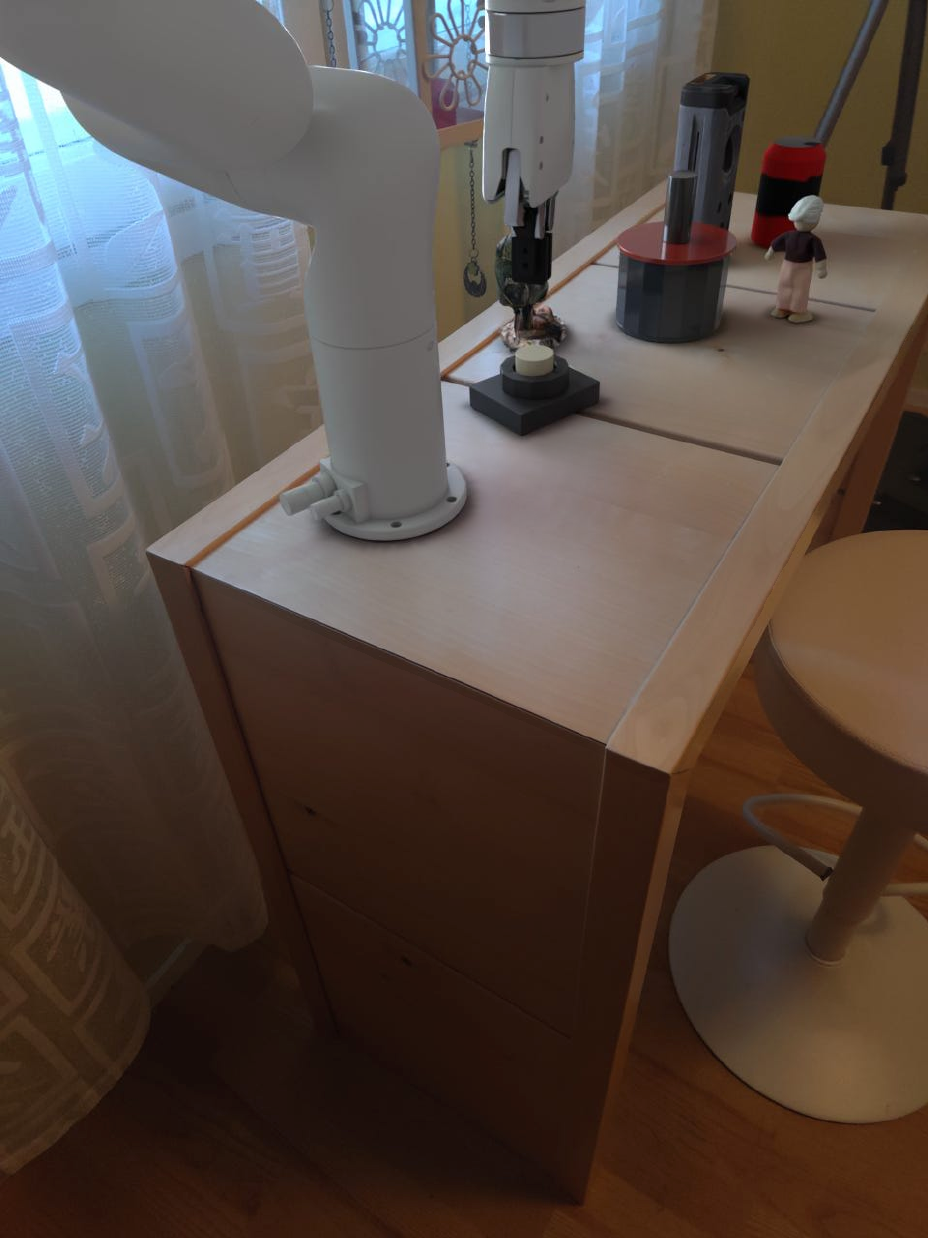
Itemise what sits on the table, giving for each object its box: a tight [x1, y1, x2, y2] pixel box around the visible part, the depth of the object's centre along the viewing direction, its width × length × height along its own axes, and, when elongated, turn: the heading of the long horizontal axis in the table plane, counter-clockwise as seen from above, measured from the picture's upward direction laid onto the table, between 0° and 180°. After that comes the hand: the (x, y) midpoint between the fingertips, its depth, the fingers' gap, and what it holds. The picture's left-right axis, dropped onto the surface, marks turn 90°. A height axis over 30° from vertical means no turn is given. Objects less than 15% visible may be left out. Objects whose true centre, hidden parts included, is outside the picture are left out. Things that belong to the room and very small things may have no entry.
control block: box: [468, 353, 601, 437], centre depth 86 cm, size 10×8×4 cm
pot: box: [614, 250, 731, 344], centre depth 98 cm, size 12×12×8 cm
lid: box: [616, 170, 738, 265], centre depth 93 cm, size 13×13×8 cm
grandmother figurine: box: [764, 195, 829, 324], centre depth 96 cm, size 8×4×13 cm, turn 50°
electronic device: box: [672, 71, 751, 231], centre depth 109 cm, size 9×6×20 cm, turn 148°
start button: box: [515, 345, 555, 377], centre depth 85 cm, size 4×4×2 cm
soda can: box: [750, 135, 828, 250], centre depth 115 cm, size 8×8×12 cm
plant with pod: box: [492, 233, 568, 351], centre depth 92 cm, size 8×11×20 cm
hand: (531, 279), depth 79 cm, fingers closed
